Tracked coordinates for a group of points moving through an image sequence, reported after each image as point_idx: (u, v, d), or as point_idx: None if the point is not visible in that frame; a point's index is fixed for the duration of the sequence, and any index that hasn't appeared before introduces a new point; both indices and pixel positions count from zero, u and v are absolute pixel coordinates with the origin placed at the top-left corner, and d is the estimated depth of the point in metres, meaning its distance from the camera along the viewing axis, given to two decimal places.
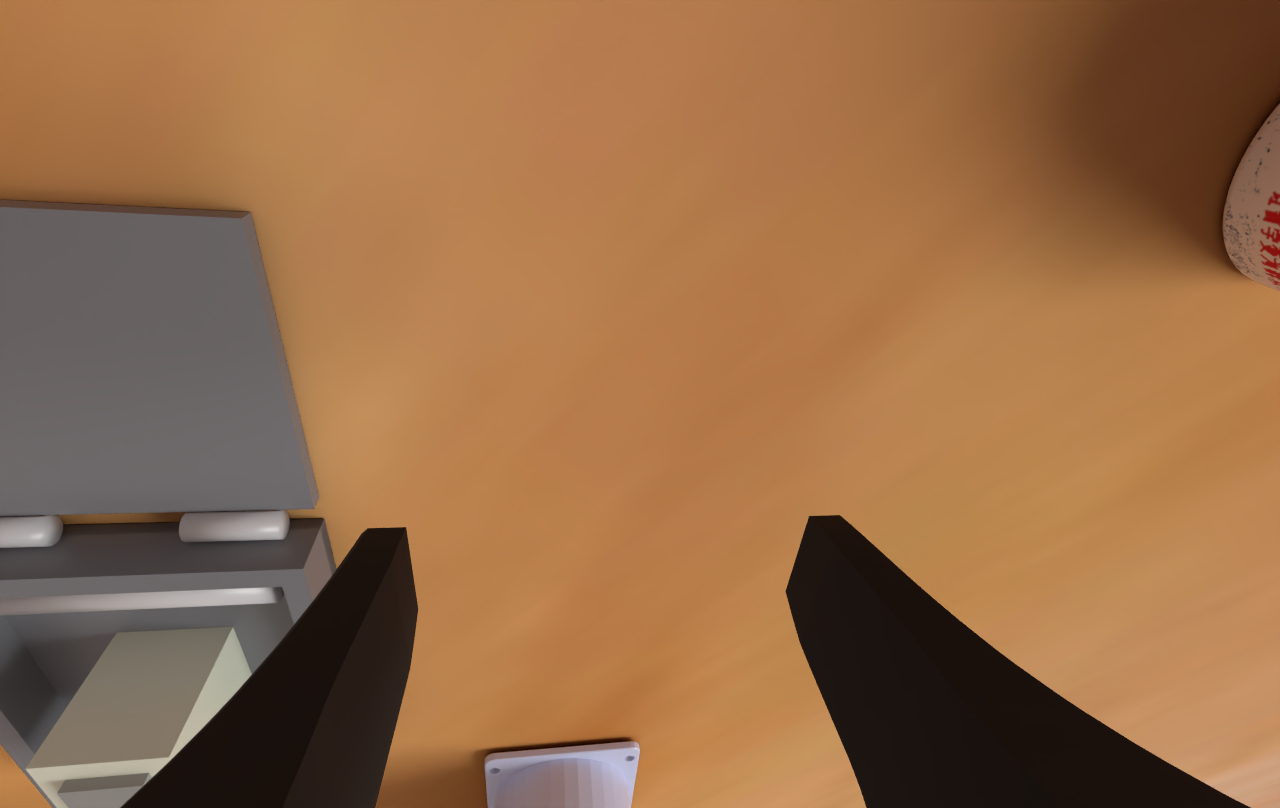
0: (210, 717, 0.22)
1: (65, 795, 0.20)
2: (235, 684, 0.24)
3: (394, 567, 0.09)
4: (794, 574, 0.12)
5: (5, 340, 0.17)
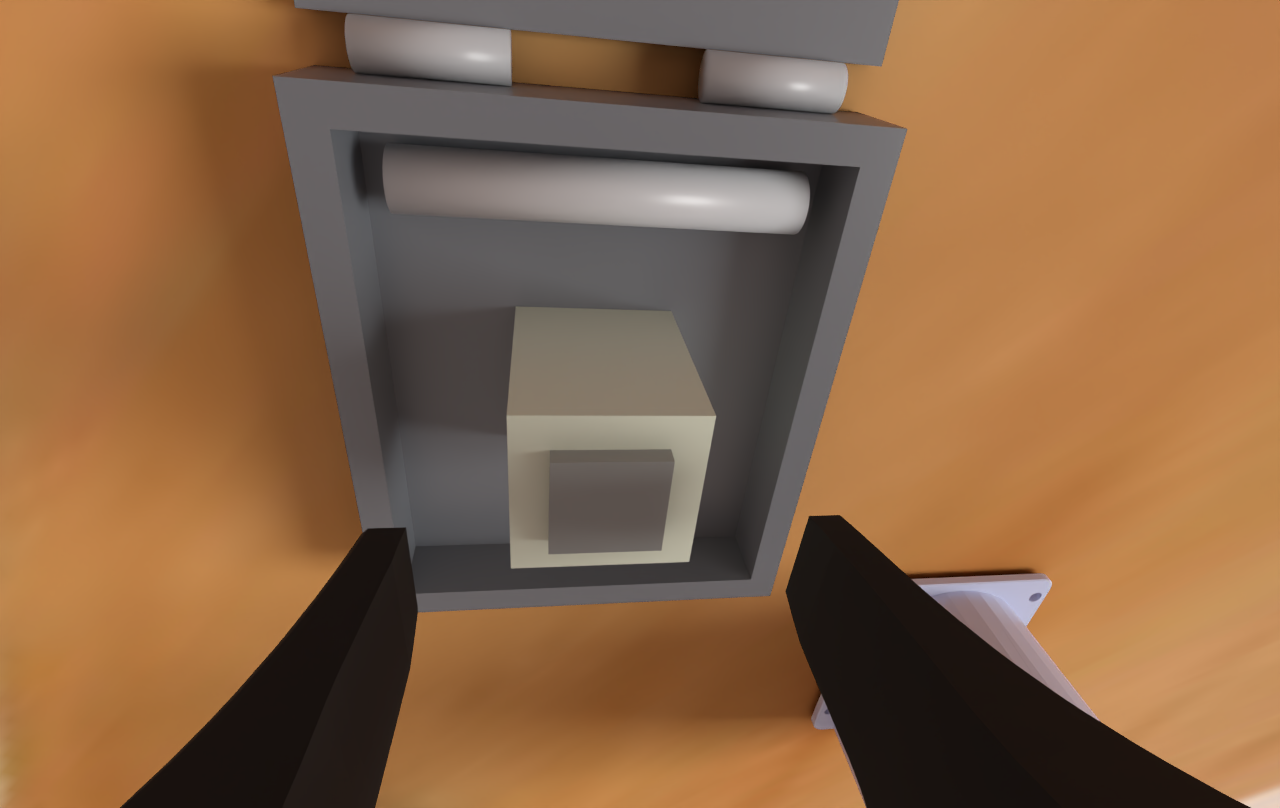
0: None
1: (559, 469, 0.12)
2: None
3: (394, 567, 0.09)
4: (794, 574, 0.12)
5: None
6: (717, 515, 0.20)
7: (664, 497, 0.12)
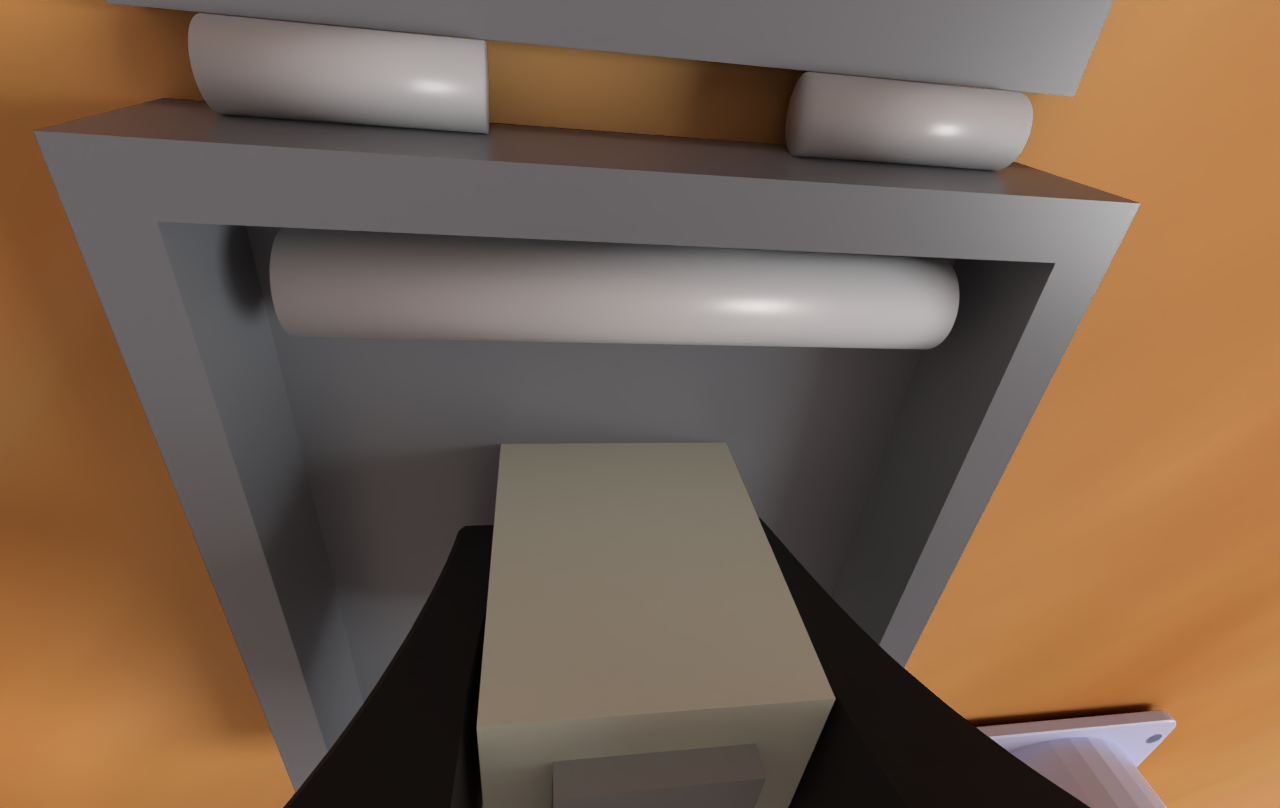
0: None
1: (570, 805, 0.07)
2: None
3: None
4: None
5: None
6: None
7: None
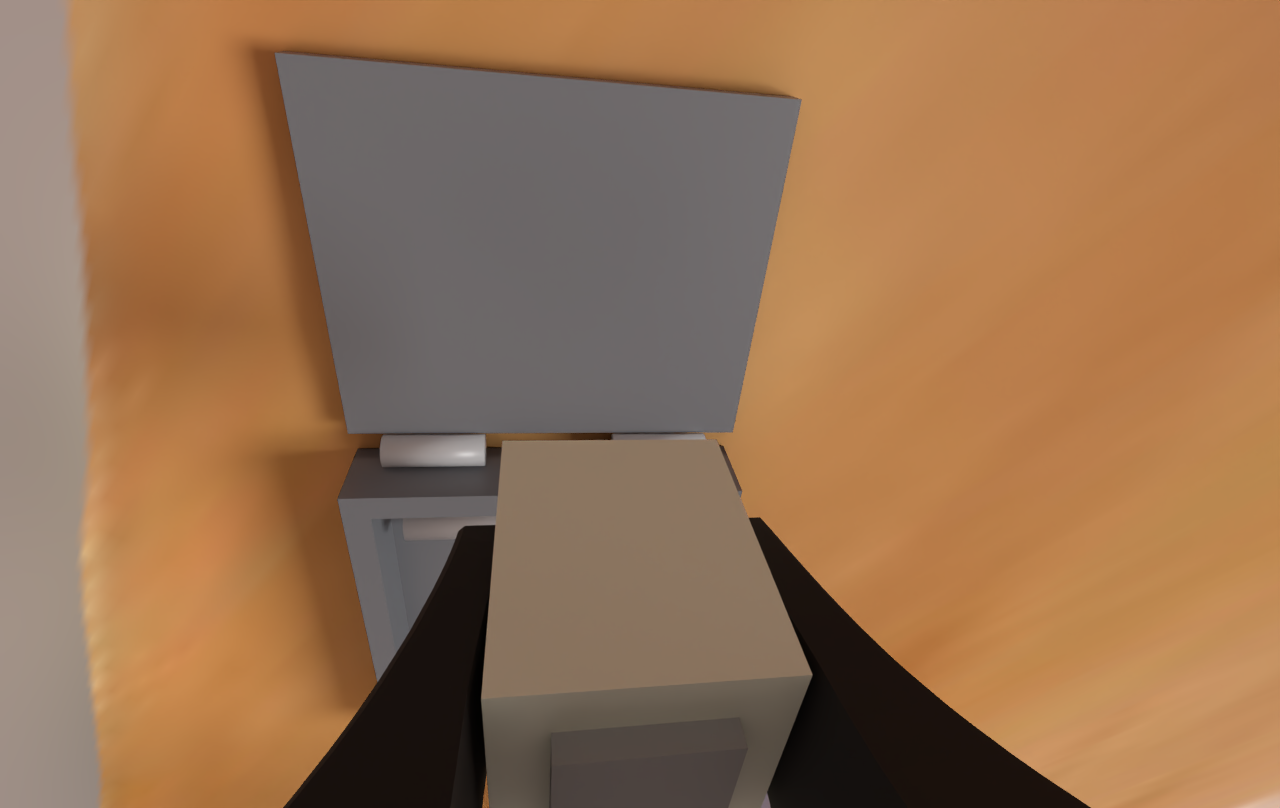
0: None
1: (567, 772, 0.07)
2: None
3: None
4: None
5: (524, 233, 0.16)
6: None
7: (727, 787, 0.08)
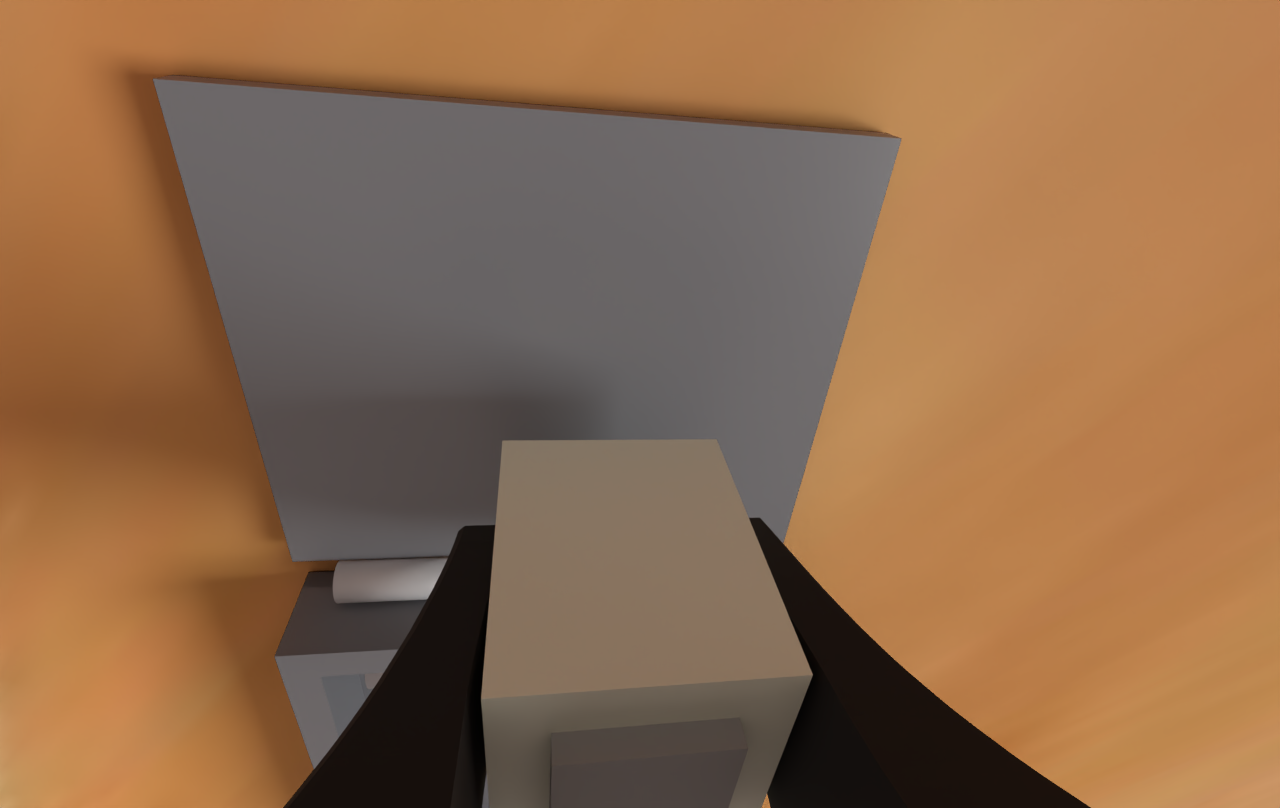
0: None
1: (567, 772, 0.07)
2: None
3: None
4: None
5: (519, 317, 0.12)
6: None
7: (728, 787, 0.08)
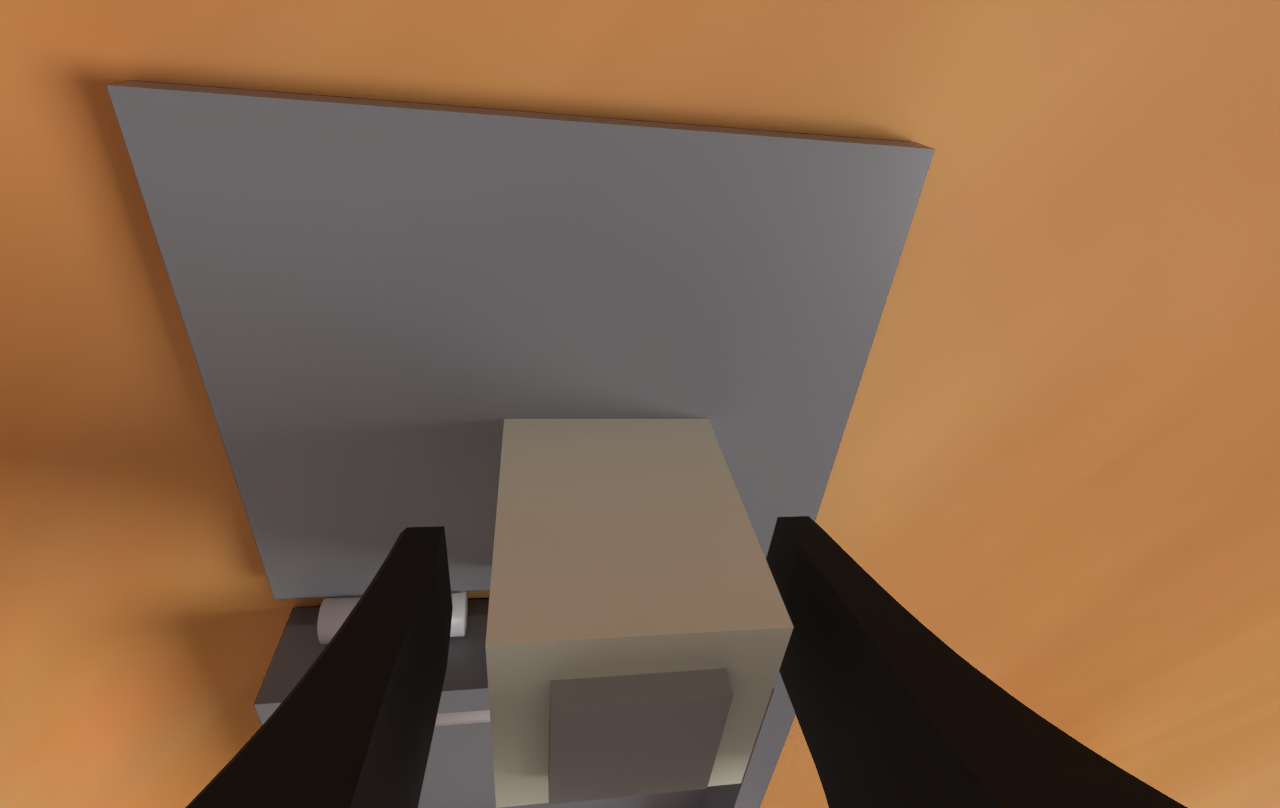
0: None
1: (565, 715, 0.08)
2: None
3: (436, 565, 0.09)
4: None
5: (517, 343, 0.11)
6: None
7: (715, 734, 0.09)
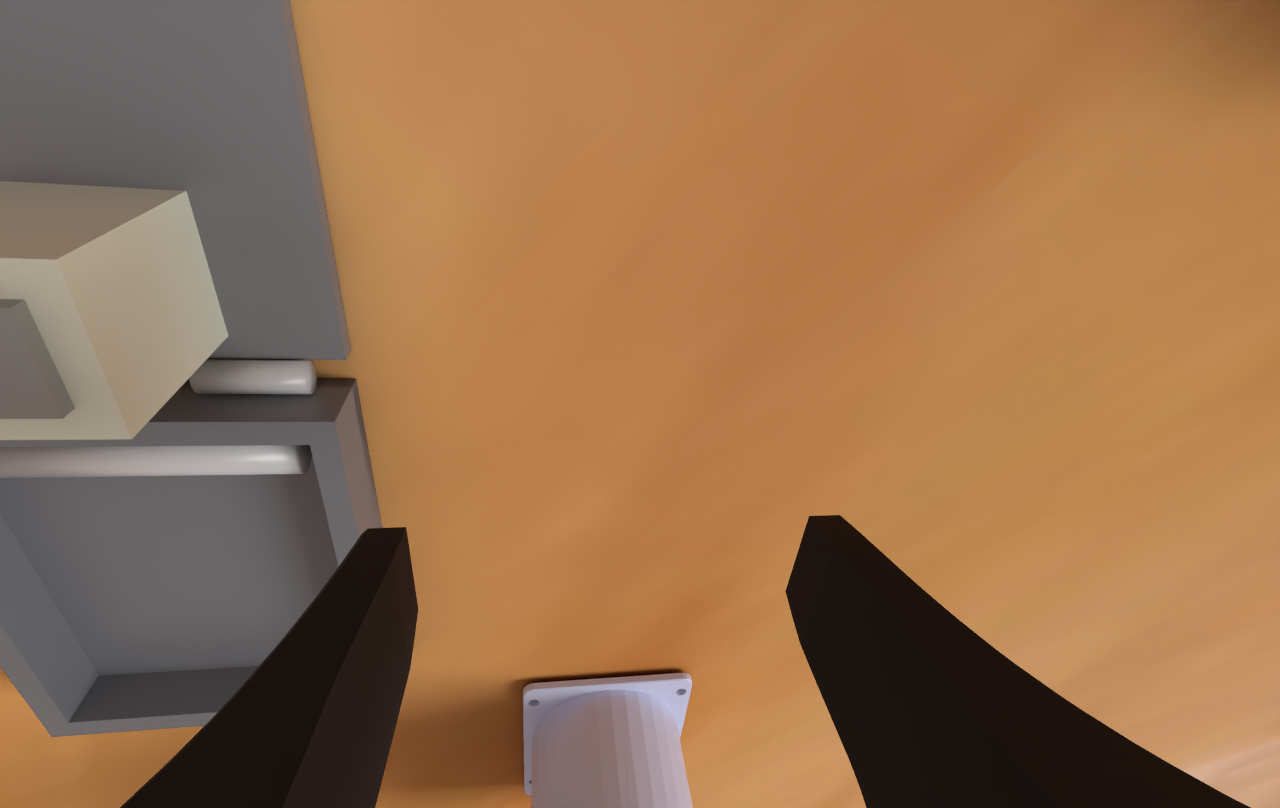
0: (144, 286, 0.14)
1: None
2: (191, 285, 0.16)
3: (394, 567, 0.09)
4: (794, 574, 0.12)
5: None
6: None
7: (24, 352, 0.12)
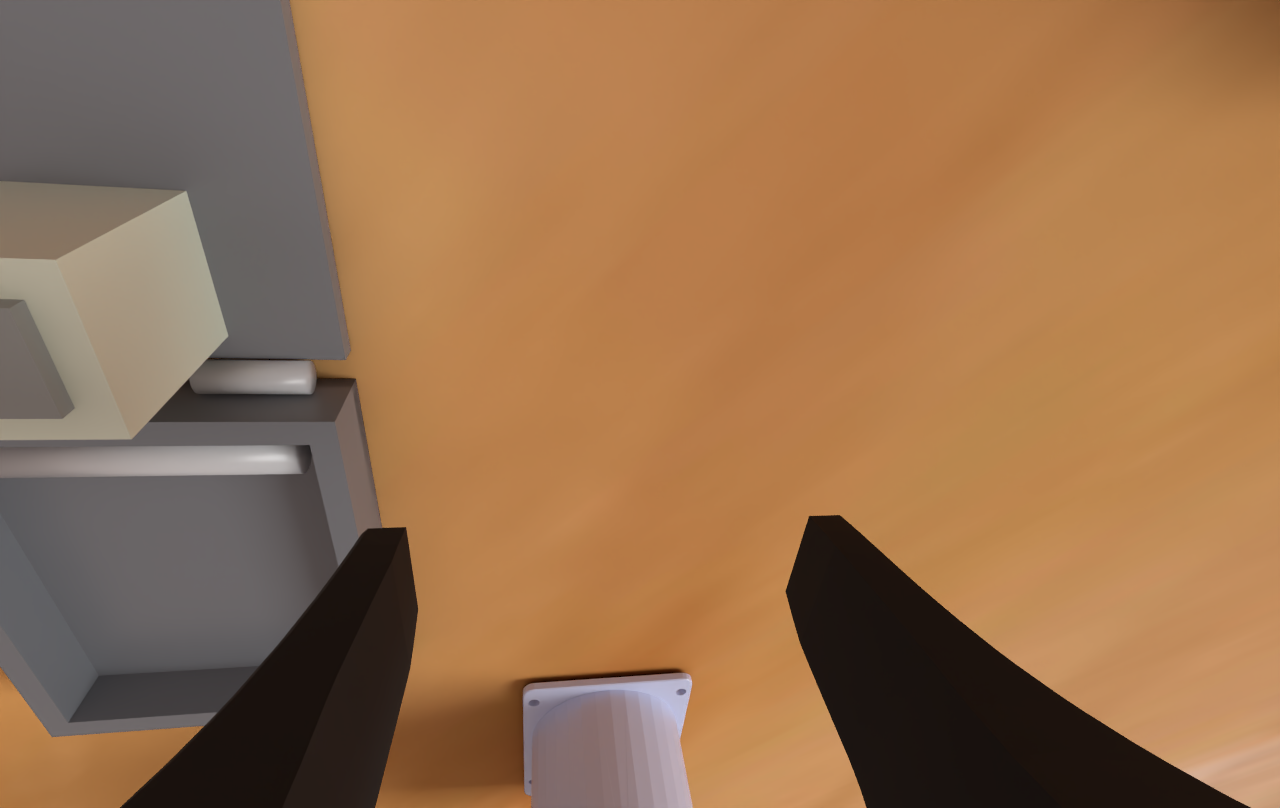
0: (144, 286, 0.14)
1: None
2: (191, 285, 0.16)
3: (394, 567, 0.09)
4: (794, 574, 0.12)
5: None
6: None
7: (23, 352, 0.12)
